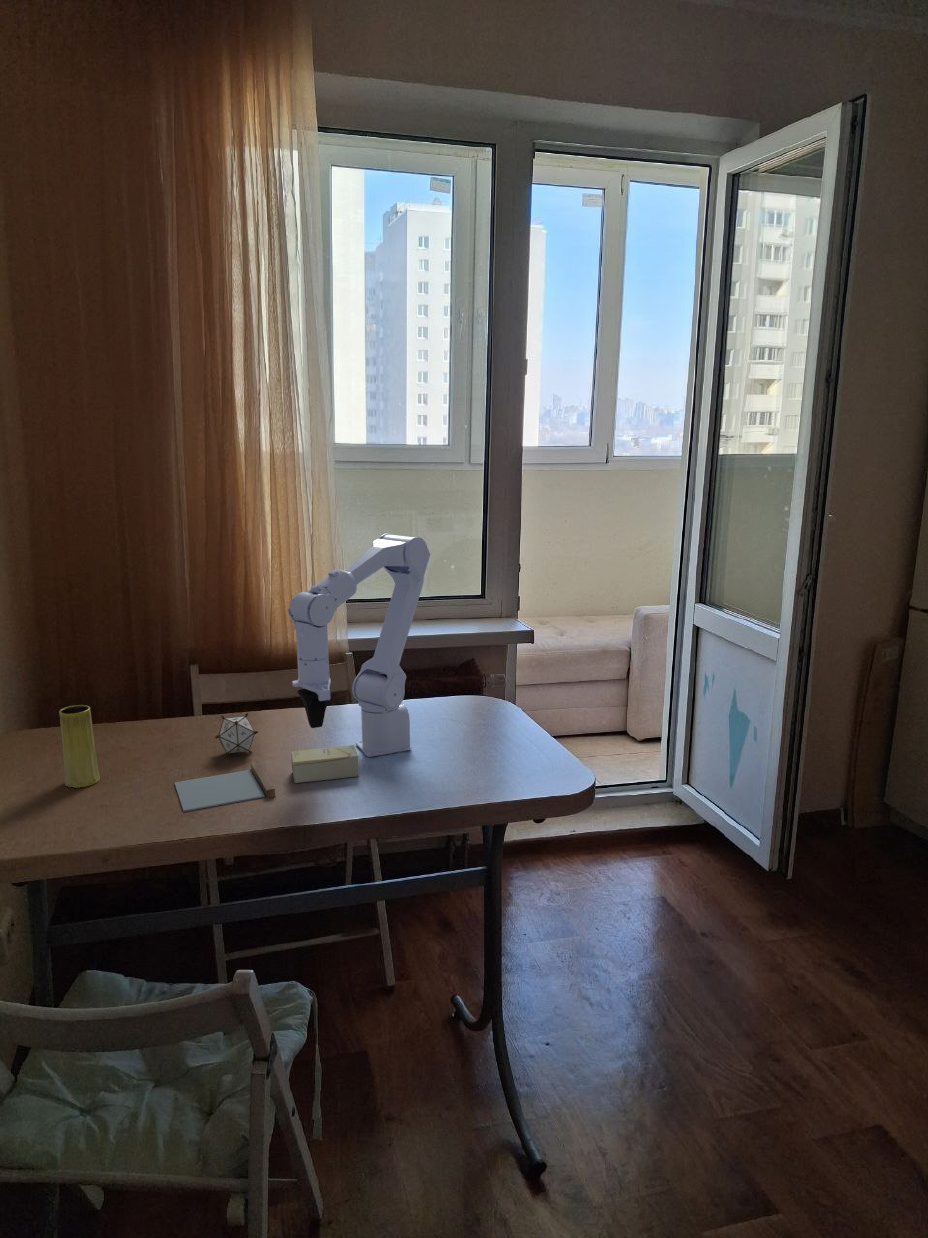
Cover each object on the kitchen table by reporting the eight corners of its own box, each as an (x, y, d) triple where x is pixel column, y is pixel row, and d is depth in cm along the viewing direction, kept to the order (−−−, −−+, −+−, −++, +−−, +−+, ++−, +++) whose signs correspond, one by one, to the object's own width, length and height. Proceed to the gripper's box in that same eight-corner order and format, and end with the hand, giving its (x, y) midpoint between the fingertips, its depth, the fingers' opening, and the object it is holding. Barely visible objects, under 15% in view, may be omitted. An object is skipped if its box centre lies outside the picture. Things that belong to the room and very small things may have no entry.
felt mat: (250, 771, 167) (250, 769, 167) (264, 797, 155) (264, 795, 155) (174, 784, 161) (174, 782, 161) (183, 812, 150) (183, 810, 150)
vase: (107, 777, 164) (99, 705, 161) (83, 790, 159) (75, 716, 156) (81, 773, 166) (73, 702, 163) (57, 786, 161) (48, 712, 157)
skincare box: (290, 751, 166) (353, 743, 169) (291, 772, 167) (354, 764, 170) (293, 763, 160) (358, 754, 163) (294, 785, 161) (360, 776, 164)
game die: (243, 773, 175) (243, 746, 168) (206, 756, 176) (204, 729, 169) (265, 740, 181) (266, 712, 174) (229, 723, 182) (229, 696, 175)
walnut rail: (259, 768, 168) (258, 761, 168) (275, 796, 156) (274, 788, 155) (251, 770, 168) (250, 762, 167) (266, 798, 155) (266, 790, 155)
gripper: (282, 650, 165) (285, 717, 169) (301, 669, 153) (305, 742, 156) (318, 646, 168) (321, 712, 171) (340, 664, 156) (343, 736, 159)
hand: (316, 726), depth 164 cm, fingers closed
